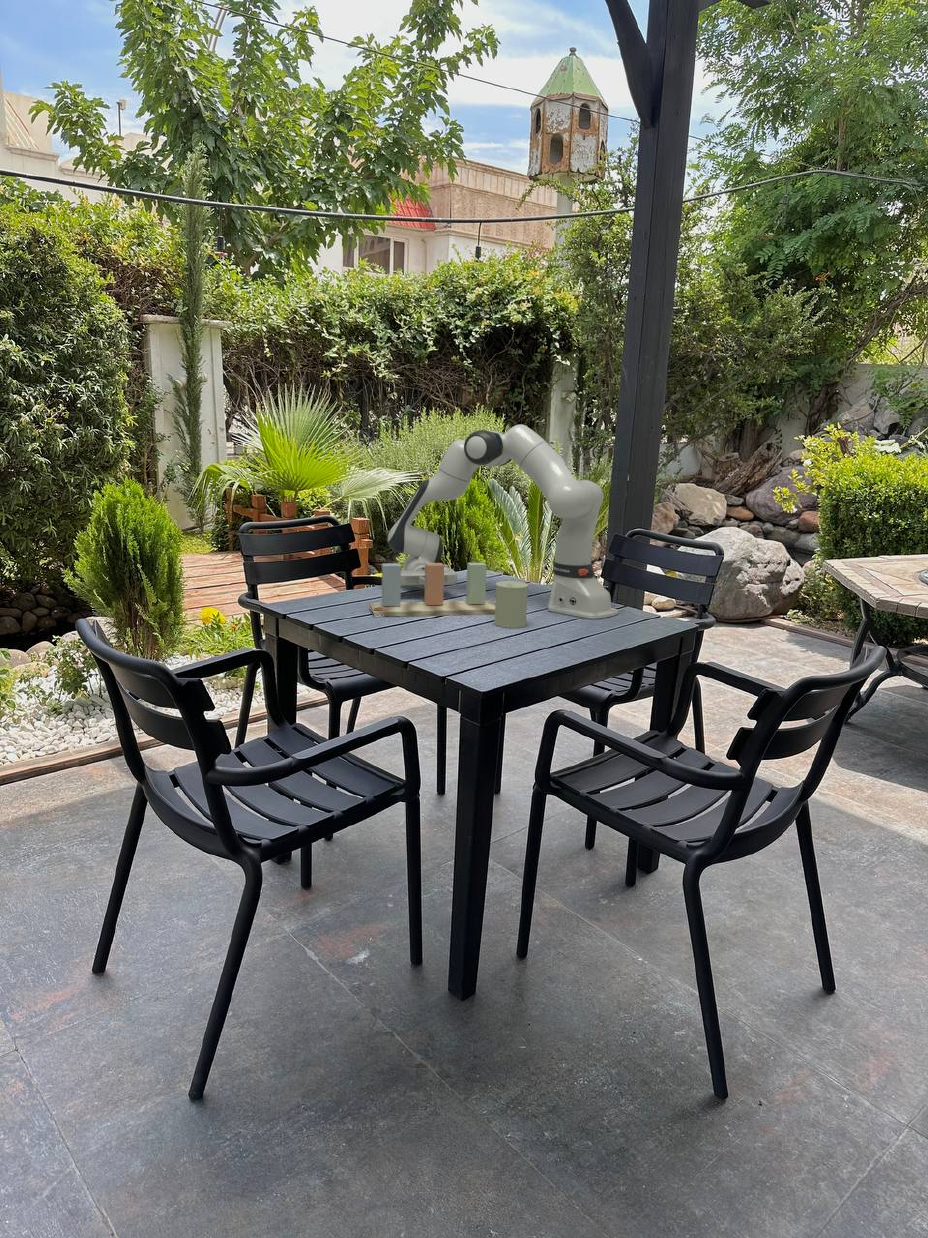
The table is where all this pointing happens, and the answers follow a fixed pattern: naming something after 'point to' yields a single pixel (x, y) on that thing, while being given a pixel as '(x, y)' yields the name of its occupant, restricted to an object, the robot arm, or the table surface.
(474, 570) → the sage key
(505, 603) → the can
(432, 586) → the terracotta key
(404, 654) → the table surface
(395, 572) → the slate key
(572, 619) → the table surface
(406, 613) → the wooden board
